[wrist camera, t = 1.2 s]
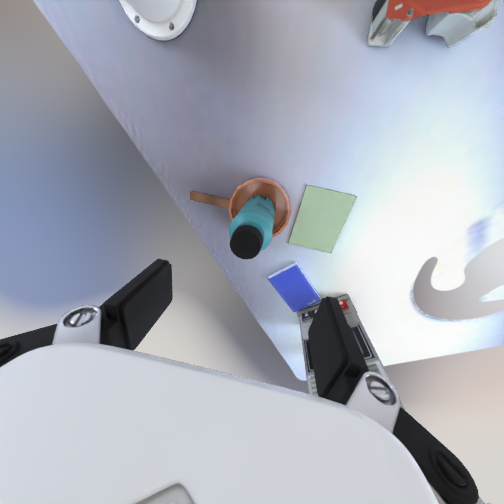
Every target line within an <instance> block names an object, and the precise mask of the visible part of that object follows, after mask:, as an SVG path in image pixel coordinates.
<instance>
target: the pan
mask: <svg viewBox="0 0 504 504" xmlns="http://www.w3.org/2000/svg"><path fill="white" fill-rule="evenodd" d="M258 194H261V195H264V196H266V197H267V196H268V198H269V199H271V201H273V204H274V206H275V210H276V213H275V215H274V219H275V220H274V224H273V230H272V237H274V236H276V235H278V234H280V232H281V231H282V230H283V229H284V228H285V226H286V225H287V223H288V220H289V217H290V213H291V211H290V202H289V197H288V195H287V193H286V192H285V190H284V188H283V187H282V186H281V185H280V184H278V183H277V182H276V181H274V180H273V179H269V178H264V177H258V178H253V179H249V180H247V181H246V182H245V183H243V184H242V185H240V186H239V187H238V188H236V190H235V192H234V193H233V195H232V197H231V198H230V204H229V214H230V218H231V222H232V220H233V219H234V217H235V216H237V214H238V213H239V212H240V210H241V209H242V208H243V205H244V204H246V203H247V202H246V201H248V199H249V198H252V197H253V196H256V195H258Z"/></svg>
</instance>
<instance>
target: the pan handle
mask: <svg viewBox="0 0 504 504" xmlns="http://www.w3.org/2000/svg"><path fill="white" fill-rule="evenodd" d="M190 200H194V201H199V202H203V203H207V204H212V205H216V206H220V207H225V208H229V204H230V199H226V198H222V197H218V196H213V195H209V194H205V193H200V192H196V191H191V192H190Z"/></svg>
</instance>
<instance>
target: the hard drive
mask: <svg viewBox="0 0 504 504" xmlns="http://www.w3.org/2000/svg"><path fill="white" fill-rule="evenodd" d="M268 280H269V281H270V282H271V284H272V285H273V286H274V288H275V289H276V290H277V291H278V293H279V294H280V295H281V297H282V298H283V299H284V301H285V302H286V303H287V304H288V306H289V307H290V308H291V310H292V311H293V312H296V311H298V310H301V309H303V308H306V307H308V306H310V305H313V304H315V303H318V302H320V301H321V297H320V296H319V294H318V293H317V292H316V290H315V289H314V287H313V286H312V284H311V283H310V281H309V280H308V278H307V277H306V276H305V274H304V273H303V271H302V270H301V268H300V267H299V266H298V264H297V263H296V262H295V263H293V264H291V265H289V266H287V267H285V268H284V269H282V270H280V271H278V272H276V273H274V274H272V275H270V276H269V277H268Z"/></svg>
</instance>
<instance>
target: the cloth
mask: <svg viewBox="0 0 504 504" xmlns="http://www.w3.org/2000/svg"><path fill="white" fill-rule="evenodd" d="M356 197H357V196H354V195H349V194H345V193H341V192H336V191H332V190H327V189H323V188H319V187H314V186H310V185H307V186H306V189H305V192H304V195H303V198H302V202H301V205H300V208H299V211H298V214H297V217H296V220H295V223H294V227H293V230H292V233H291V236H290V239H289V242H288V243H289V244H293V245H298V246H302V247H306V248H310V249H315V250H319V251H323V252H327V253H332V250H333V248H334V246H335V244H336V241H337V239H338V237H339V235H340V233H341V230H342V228H343V226H344V224H345V222H346V219H347V217H348V215H349V213H350V211H351V208H352V206H353V204H354V202H355V200H356Z"/></svg>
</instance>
